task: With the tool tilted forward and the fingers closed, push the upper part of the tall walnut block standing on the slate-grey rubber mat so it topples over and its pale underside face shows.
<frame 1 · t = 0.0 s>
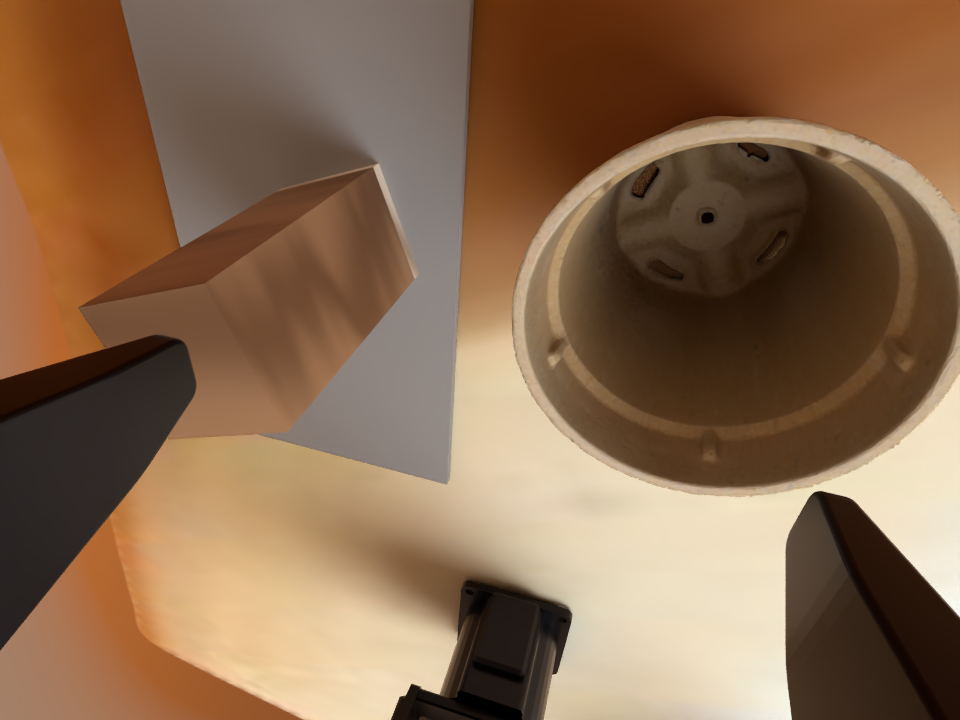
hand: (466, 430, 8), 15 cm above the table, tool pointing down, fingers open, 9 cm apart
flower pot: (707, 207, 20), on the table
walnut block: (351, 231, 24), resting on rubber mat
rubber mat: (315, 263, 26), on the table
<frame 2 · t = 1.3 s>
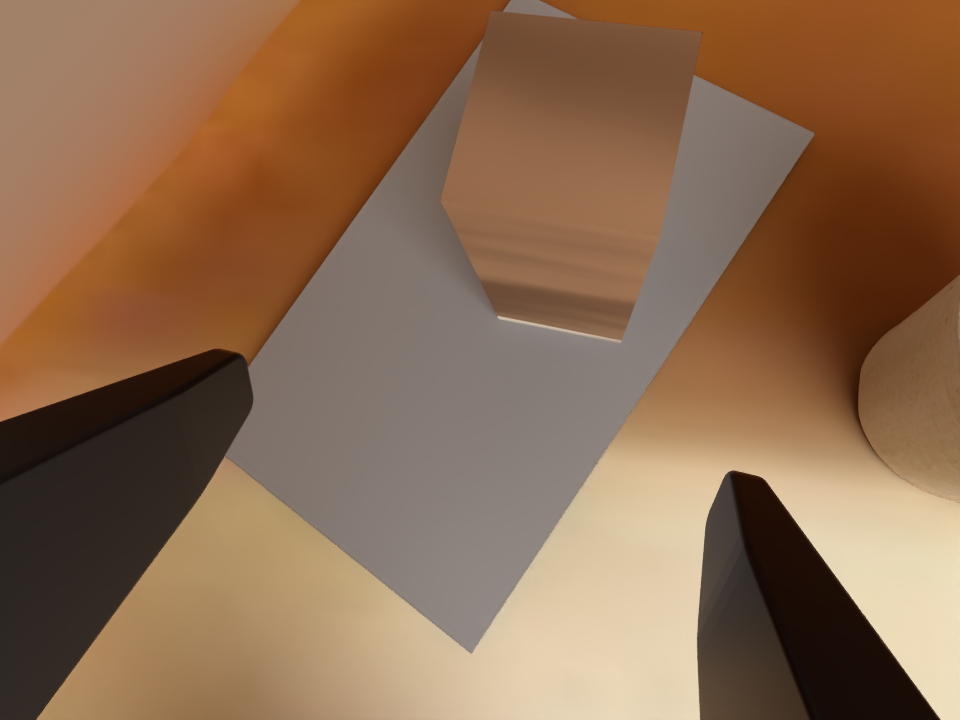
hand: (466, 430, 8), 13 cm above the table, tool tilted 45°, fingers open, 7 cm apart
flower pot: (951, 403, 20), on the table
walnut block: (571, 272, 22), resting on rubber mat
rubber mat: (498, 292, 23), on the table
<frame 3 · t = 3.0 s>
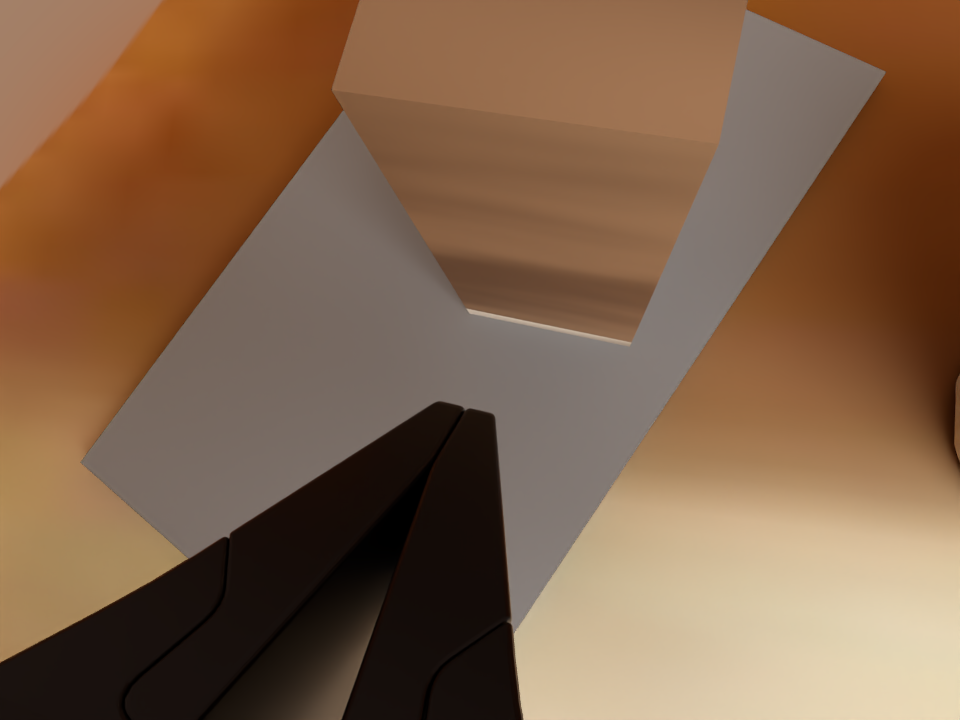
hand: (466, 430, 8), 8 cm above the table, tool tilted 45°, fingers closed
walnut block: (565, 253, 17), resting on rubber mat
rubber mat: (469, 279, 18), on the table
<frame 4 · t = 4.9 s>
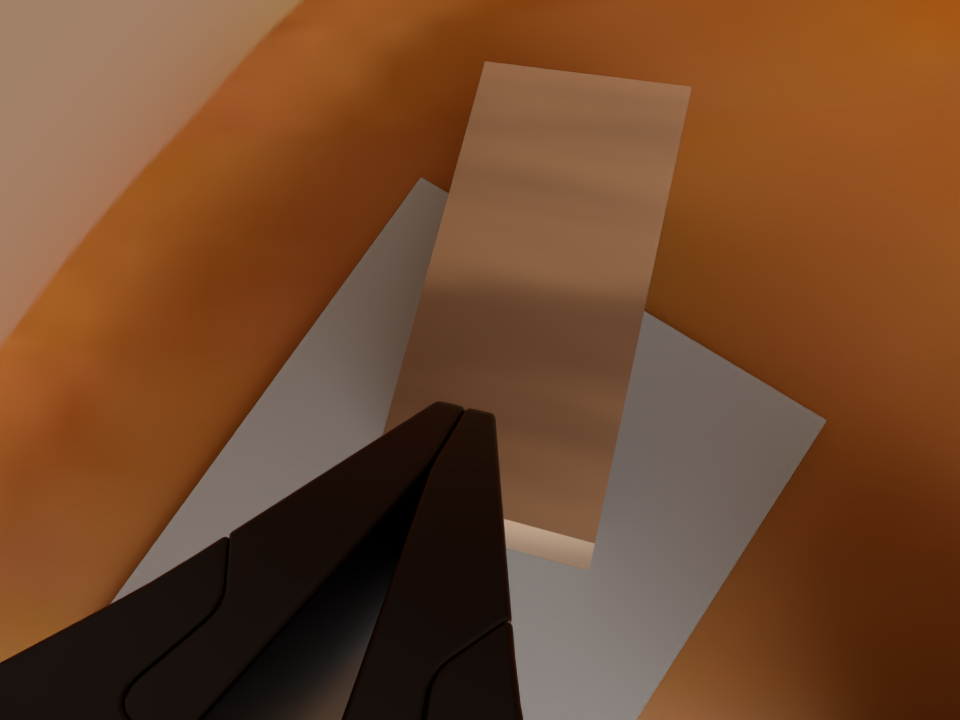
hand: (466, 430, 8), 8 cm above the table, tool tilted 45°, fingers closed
walnut block: (487, 528, 14), point 3 cm above the table, tilted 90°, touching rubber mat
rubber mat: (377, 622, 16), on the table
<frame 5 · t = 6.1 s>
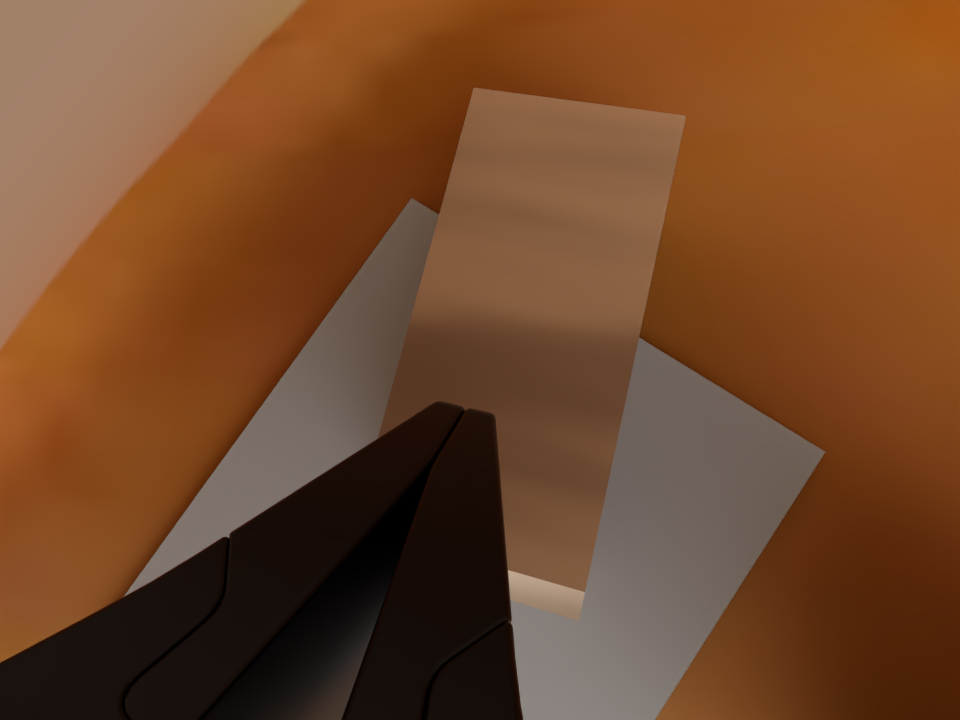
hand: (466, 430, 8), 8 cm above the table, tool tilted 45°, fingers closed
walnut block: (477, 566, 13), point 3 cm above the table, tilted 90°, touching rubber mat
rubber mat: (367, 656, 16), on the table
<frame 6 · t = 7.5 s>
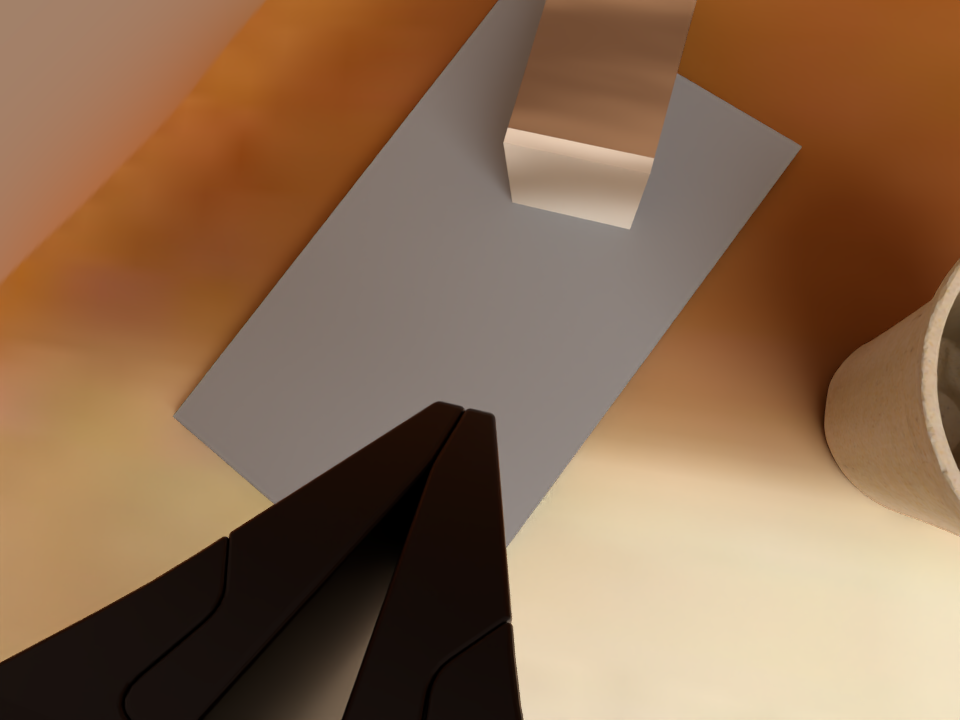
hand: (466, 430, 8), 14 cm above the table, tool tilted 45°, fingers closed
flower pot: (913, 420, 21), on the table
walnut block: (572, 190, 20), point 3 cm above the table, tilted 90°, touching rubber mat
rubber mat: (480, 288, 23), on the table
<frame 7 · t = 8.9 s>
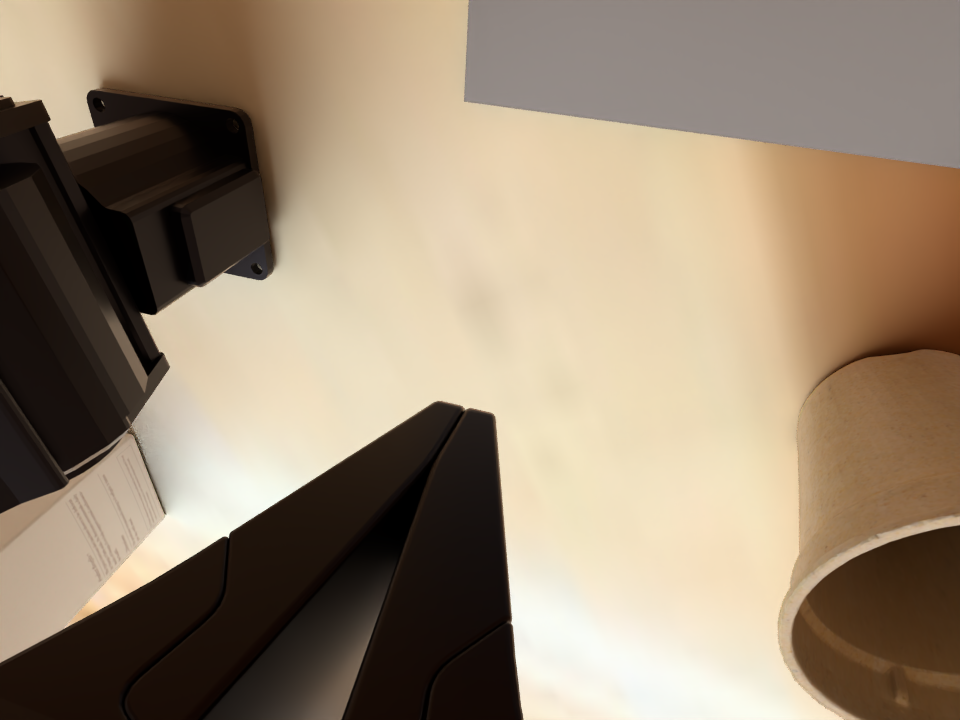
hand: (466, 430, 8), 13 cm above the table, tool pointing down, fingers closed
supplement box: (104, 461, 37), on the table
flower pot: (898, 418, 21), on the table
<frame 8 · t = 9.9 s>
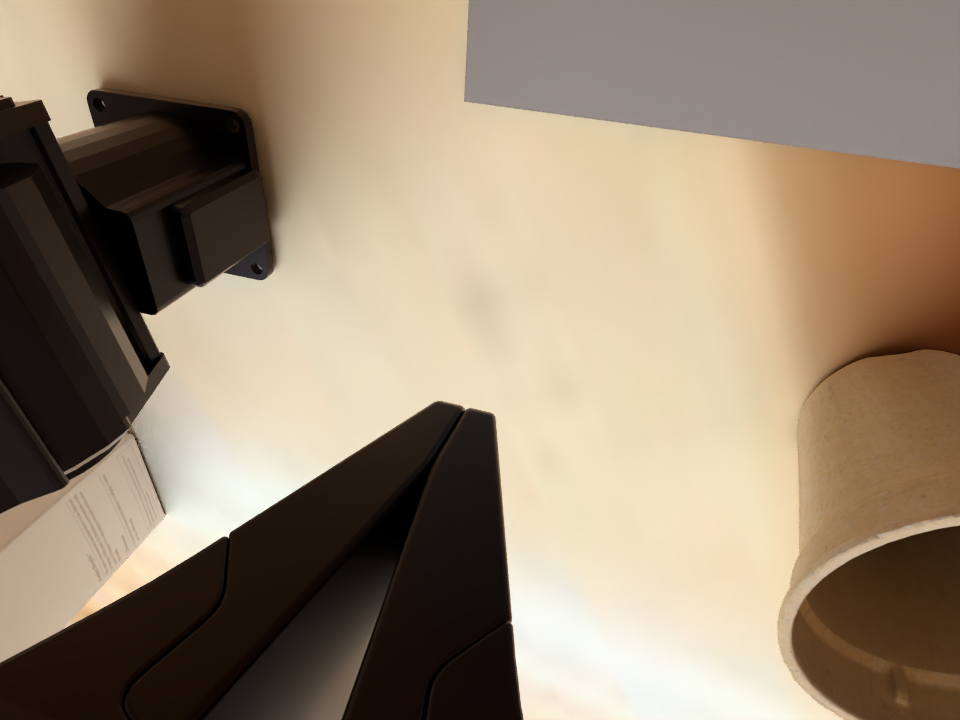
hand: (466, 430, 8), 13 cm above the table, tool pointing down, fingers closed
supplement box: (105, 461, 37), on the table
flower pot: (898, 418, 21), on the table
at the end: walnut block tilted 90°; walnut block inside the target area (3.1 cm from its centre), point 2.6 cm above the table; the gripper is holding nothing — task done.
